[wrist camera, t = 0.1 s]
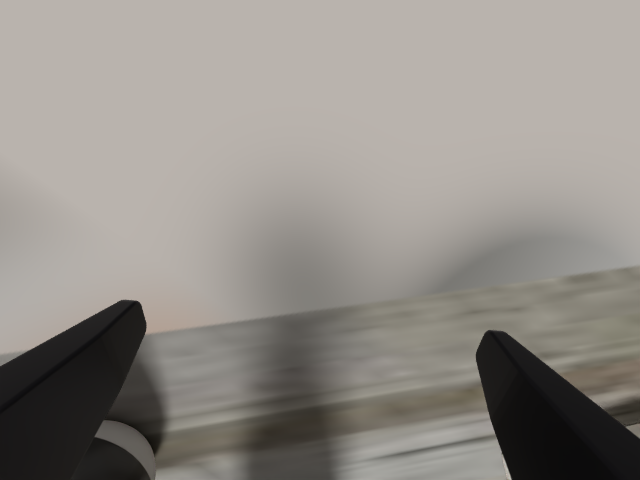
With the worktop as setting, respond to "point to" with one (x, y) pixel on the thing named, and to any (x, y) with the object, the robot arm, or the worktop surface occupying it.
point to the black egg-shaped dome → (117, 455)
